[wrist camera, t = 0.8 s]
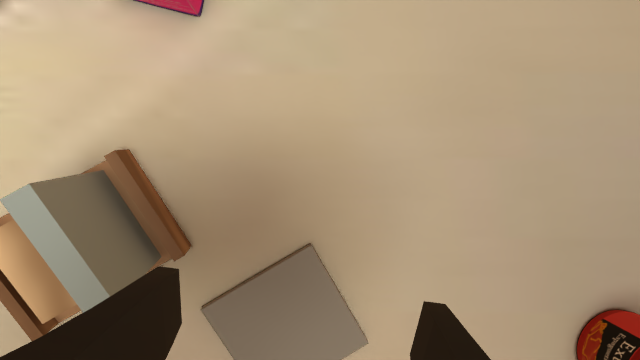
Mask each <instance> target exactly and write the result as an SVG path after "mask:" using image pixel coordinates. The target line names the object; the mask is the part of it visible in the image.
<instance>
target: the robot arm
mask: <svg viewBox="0 0 640 360" xmlns="http://www.w3.org/2000/svg"><path fill="white" fill-rule="evenodd" d="M181 324H182V319H181V300H180V282H179V269H174V268H166V267H157V268H155V269H153V270H152V271H150V272H148V273H147V274H145V275H144V276H142V277H140V278H139V279H137V280H136V281H134V282H132V283H131V284H129V285H128V286H126V287H125V288H123V289H121V290H120V291H118V292H117V293H115V294H113V295H112V296H110V297H108V298H107V299H105V300H104V301H102V302H100V303H99V304H97V305H96V306H94V307H92V308H91V309H89V310H87V311H86V312H84V313H82V314H80V315H79V316H77V317H75V318H73V319H71V320H70V321H68V322H66V323H64V324H63V325H61V326H59V327H57V328H56V329H54V330H52V331H50V332H49V333H47V334H45V335H43V336H41V337H39V338H38V339H36V340H34V341H32V342H30V343H28V344H26V345H24V346H22V347H20V348H18V349H16V350H14V351H12V352H10V353H8V354H6V355H4V356H2V357H0V360H165V359H166V357H167V355H168V353H169V351H170V349H171V347H172V345H173V342H174V340H175V338H176V335H177V333H178V331H179V328H180V326H181ZM410 360H491V359H490V358H489V357H488V356H487V355H486V353H485V352H484V351H483V350H482V349H481V347H480V346H479V345H478V344H477V343H476V341H475V340H474V339H473V338H472V336H471V335H470V334H469V333H468V331H467V330H466V329H465V328H464V327H463V325H462V324H461V323H460V322H459V320H458V319H457V318H456V317H455V315H454V314H453V313H452V312H451V310H450V309H449V308H448V307H447V306H446V304H440V303H433V302H425V301H424V303H423V307H422V311H421V315H420V318H419V322H418V326H417V330H416V333H415V337H414V341H413V345H412V348H411V352H410Z"/></svg>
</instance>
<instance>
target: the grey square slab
mask: <svg viewBox="0 0 640 360" xmlns="http://www.w3.org/2000/svg"><path fill="white" fill-rule="evenodd" d="M0 201H1V202H2V204H3V205H4V206H5V208H6V209H7V211H8V212H9V213H10V215H11V216H12V217H13V219H14V220H15V221H16V223H17V224H18V225H19V227H20V228H21V229H22V231H23V232H24V233H25V235H26V236H27V237H28V239H29V240H30V242H31V243H32V244H33V246H34V247H35V248H36V250H37V251H38V252H39V254H40V255H41V256H42V258H43V259H44V260H45V262H46V263H47V264H48V266H49V267H50V269H51V270H52V271H53V273H54V274H55V275H56V277H57V278H58V279H59V281H60V282H61V283H62V285H63V286H64V287H65V289H66V290H67V291H68V293H69V294H70V296H71V297H72V298H73V300H74V301H75V302H76V304H77V305H78V306H79V308H80V309H81V310H82V312H83V313H84V312H86V311H87V310H89V309H91V308H92V307H94V306H96V305H97V304H99V303H100V302H102V301H104V300H105V299H107V298H108V297H110V296H112V295H113V294H115V293H117V292H118V291H120V290H121V289H123V288H125V287H126V286H128V285H129V284H131V283H132V282H134V281H136V280H137V279H139V278H140V277H142V276H144V275H145V274H146V273H147V272H148V271H149V270H150V269H151V268H152V267H153V265H154V264H155V263H156V262H157V261H158V260H159V259H160V258H161V257H162V256H161V255H160V253H159V252H158V250H157V249H156V247H155V246H154V244H153V243H152V242H151V240H150V239H149V237H148V236H147V234H146V233H145V231H144V230H143V228H142V227H141V225H140V224H139V222H138V221H137V219H136V218H135V216H134V215H133V213H132V212H131V210H130V209H129V207H128V206H127V204H126V203H125V201H124V200H123V198H122V197H121V195H120V194H119V192H118V191H117V189H116V188H115V187H114V185H113V184H112V182H111V181H110V179H109V178H108V176H107V175H106V173H105V172H104V170H101V171H95V172H90V173H85V174H79V175H74V176H68V177H63V178H57V179H52V180H46V181H41V182H36V183H30V184H27V185H26V186H24V187H22V188H20V189H18V190H16V191H15V192H13V193H11V194H9V195H7V196H5V197H3V198H2V199H0Z"/></svg>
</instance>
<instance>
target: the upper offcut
mask: <svg viewBox="0 0 640 360" xmlns="http://www.w3.org/2000/svg"><path fill="white" fill-rule="evenodd" d="M0 269H1V271H2V272H3V273H4V275H5V276H6V277H7V279H8V280H9V281H10V282H11V284H12V285H13V286H14V288H15V289H16V290H17V292H18V293H19V294H20V295H21V297H22V298H23V299H24V301H25V302H26V303H27V305H28V306H29V307H30V308H31V310H32V311H33V312H34V314H35V315H36V316H37V317H38V319H39V320H40V321H41V323H42V324H43V323H45V322H47V321H49V320H50V319H52V318H54V317H56V316H57V315H59V314H61V313H63V312H64V311H66V310H68V309H70V308H72V307H73V306H75V305H77V304H76V302H75V301H74V300H73V298H72V297H71V296H70V294H69V293H68V291H67V290H66V289H65V287H64V286H63V285H62V283H61V282H60V281H59V279H58V278H57V277H56V275H55V274H54V273H53V271H52V270H51V269H50V267H49V266H48V264H47V263H46V262H45V260H44V259H43V258H42V256H41V255H40V254H39V252H38V251H37V250H36V248H35V247H34V246H33V244H32V243H31V242H30V240H29V239H28V237H27V236H26V235H25V233H24V232H23V231H22V229H21V228H20V227H19V225H18V224H17V223H16V221H15V220H14V219H13V220H11V221H10V222H8V223H6V224H4V225H2V226H1V227H0Z"/></svg>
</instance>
